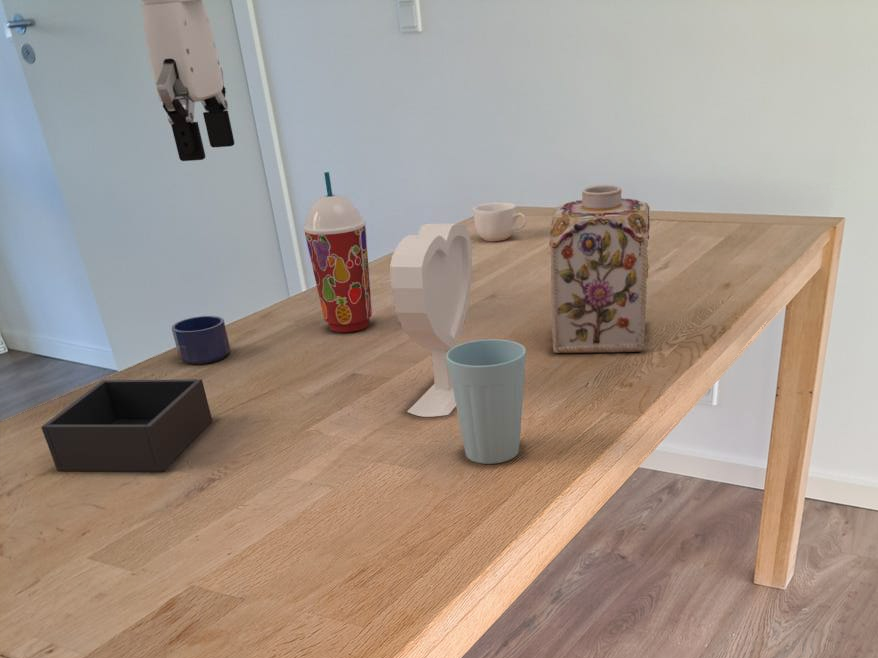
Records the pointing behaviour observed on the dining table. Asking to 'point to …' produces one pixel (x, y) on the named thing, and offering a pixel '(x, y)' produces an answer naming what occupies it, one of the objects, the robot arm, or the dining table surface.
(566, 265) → the decorative jar
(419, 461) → the dining table surface
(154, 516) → the dining table surface
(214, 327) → the cylindrical container
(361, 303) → the smoothie
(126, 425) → the dish tub
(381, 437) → the dining table surface
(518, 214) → the teacup
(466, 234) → the heart sculpture
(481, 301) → the dining table surface
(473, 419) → the cup
